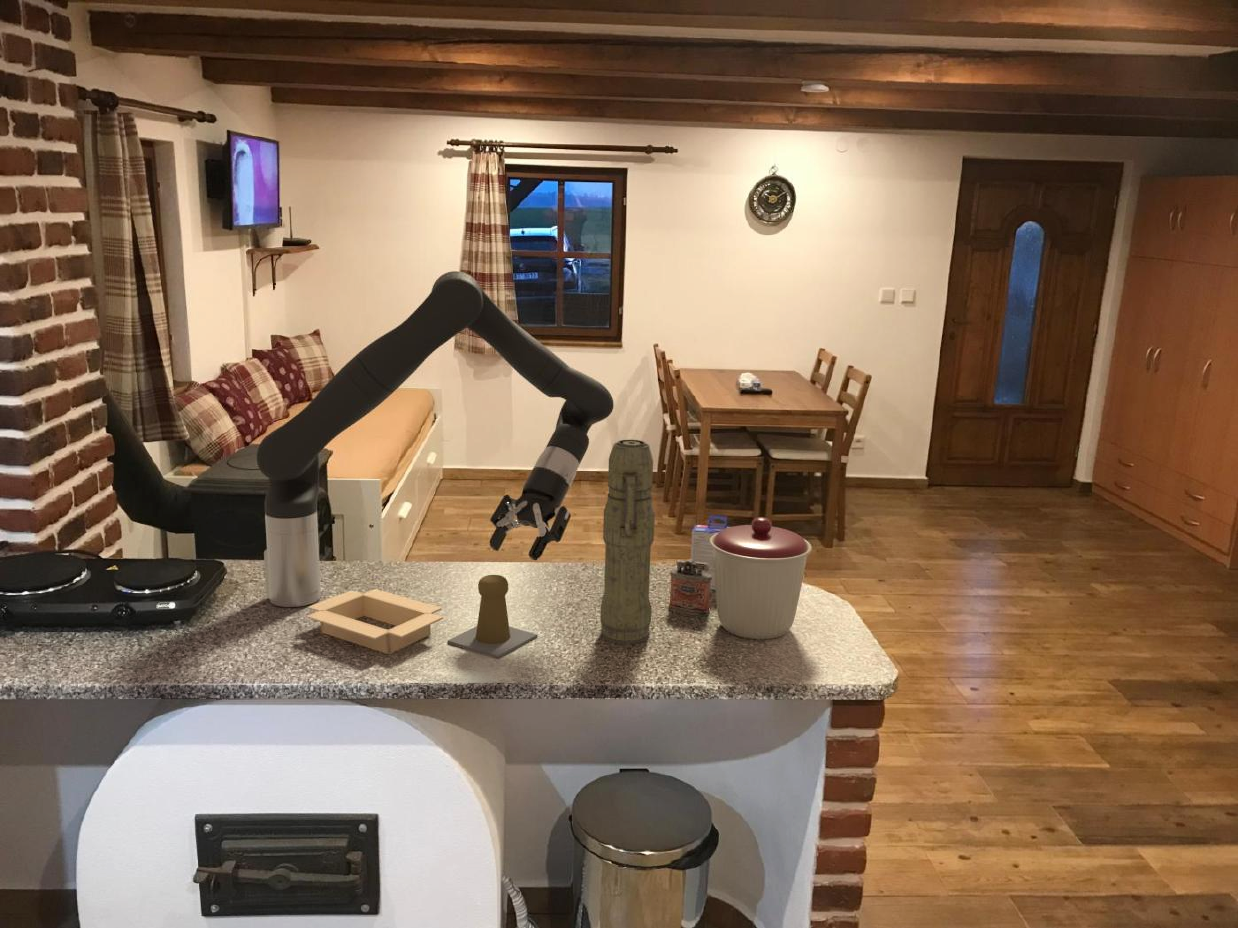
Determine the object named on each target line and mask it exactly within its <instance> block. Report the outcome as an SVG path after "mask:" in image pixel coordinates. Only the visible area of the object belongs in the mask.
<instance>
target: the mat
mask: <svg viewBox="0 0 1238 928" xmlns="http://www.w3.org/2000/svg"><path fill="white" fill-rule="evenodd" d="M509 629H510V639H509V640H507V641H506V642H503V643H498V644H487V643H482V642H480V641H478V640H477V639H476V631H477V625H476V626H474V627H472V628H470V629H468V630H466V631H464V632H462V633H460V634H458V635H456V636H454V637H452V638H450V639H448V640H447V644H450V645H453V646H456V647H458V648H459V647H460V648H462V649H465V650H468V651H471V652H472V651H473V652H476V653H479V654H482V655H485V656H489V657H491V658H495V659H498V660H499V659H500V658H503V657H504V656H506V655H508V654H509V653H511V652H513V651H516V649H519V648H520V647H523V646H524V645H526V644H528V643H530V642H531V641H533V640H535V639H536V638H538V634H537V633H533V632H529V631H527V630H523V629H519V628H517V627H512V626H509Z"/></svg>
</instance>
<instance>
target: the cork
mask: <svg viewBox="0 0 1238 928" xmlns="http://www.w3.org/2000/svg"><path fill="white" fill-rule="evenodd" d="M477 583H478V585H477V590H478V593H479V595H480V596H481V597H480V601H479V611H478V617H477V618H478V619H477V625H476V626H477V631H476V639H477V640H478V641H480V642H482V643H487V644H498V643H503V642H506V641H507V640H509V639H510V629H509V627H510V624H509V623H510V622H509V614H508V608H507V606H508V605H507V599H506V595H507V593H508V591H509V582H508V580H507V578H506V577H505V576H503V575H499V574H488V575H484V576H483V577H481V578H480V579H479V581H478V582H477Z"/></svg>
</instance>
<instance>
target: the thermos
mask: <svg viewBox="0 0 1238 928" xmlns="http://www.w3.org/2000/svg"><path fill="white" fill-rule="evenodd" d="M607 472H608V476H607V486H608V493H607V501H606V504H605V507H604V509H603V522H602V523H603V524H602V525H603V526H602V528H603V529H602V533H603V534H602V539H603V542H604V544H605V553H604V554H605V555H604V558H605V559H604V585H603V586H604V591H603V595H602V598H601V602H600V618H599V619H600V623H601V629H600V636H601V637H602V639H603V640H605V641H606V642H608V643H612V644H617V645H636V644H641V643H644V642H646V641H647V640H648V639H649V638H650V625H651V622H652V603H651V601H650V597H649V596H650V574H651V572H650V571H651V547H652V545H653V542H654V540H655V517H656V512H655V508H654V506H653V495H652V488H653V478H654V477H653V476H654V475H653V474H654V459H653V455H652V450H651V447H650V444H649V443H646V442H645V441H643V440H639V439H621V440H618V441H616V442H615V443H614V444H613V446H612V448H611V451H610V453H609V456H608V470H607Z"/></svg>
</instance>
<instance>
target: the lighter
mask: <svg viewBox="0 0 1238 928" xmlns="http://www.w3.org/2000/svg"><path fill="white" fill-rule="evenodd" d="M708 568H709V564H708V563H703V562H694V560H692V559H691V558H688V559H687V560H684V559H683V560H682V559H678V560H676V568H672V569H671V570H670V571H669V572H670V573H669V575H670V591H669V594H670V595H669V603H668V609H669V610H670V611H673V612H678V613H681V614H687V615H695V616H708V615H710V612H711V608H710V600H711V599H710V598H711V597H710V595H711V589H710V582H711V580H712V575H710V574H707V573H703V572H702V570H704V571H708ZM696 569H697V571H696Z"/></svg>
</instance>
